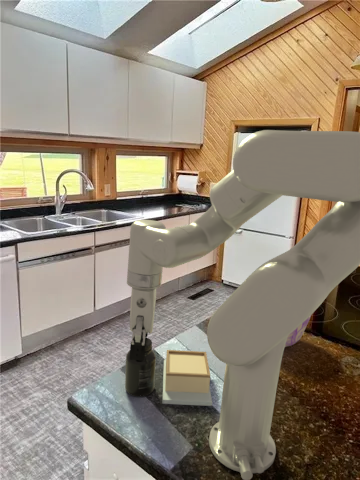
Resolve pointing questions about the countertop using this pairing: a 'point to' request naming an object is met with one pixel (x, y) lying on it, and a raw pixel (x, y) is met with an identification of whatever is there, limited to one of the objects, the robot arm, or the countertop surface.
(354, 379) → the countertop surface
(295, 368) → the countertop surface
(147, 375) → the supplement bottle
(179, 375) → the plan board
